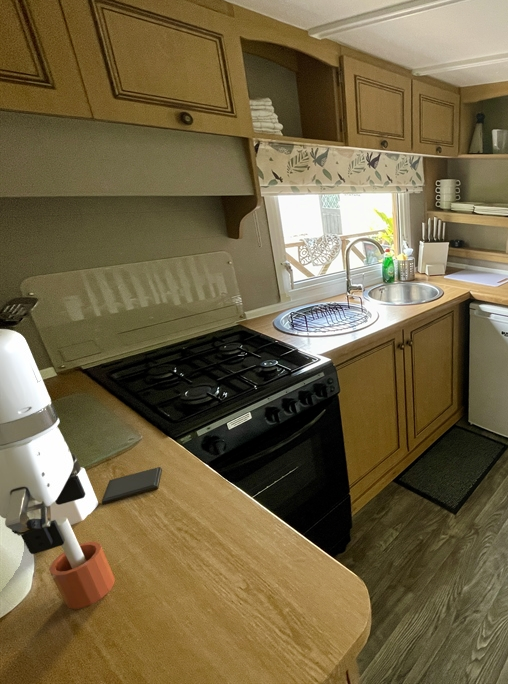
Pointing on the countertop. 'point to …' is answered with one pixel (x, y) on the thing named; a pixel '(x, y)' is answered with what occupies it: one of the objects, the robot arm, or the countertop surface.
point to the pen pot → (83, 577)
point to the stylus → (71, 544)
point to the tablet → (132, 485)
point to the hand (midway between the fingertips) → (61, 522)
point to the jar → (73, 509)
